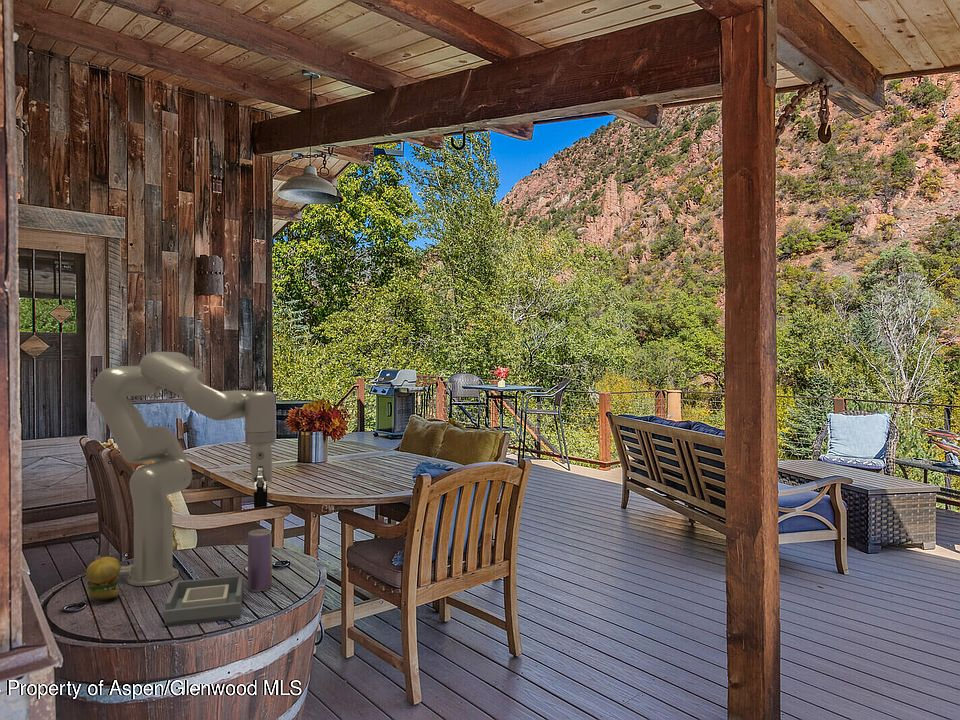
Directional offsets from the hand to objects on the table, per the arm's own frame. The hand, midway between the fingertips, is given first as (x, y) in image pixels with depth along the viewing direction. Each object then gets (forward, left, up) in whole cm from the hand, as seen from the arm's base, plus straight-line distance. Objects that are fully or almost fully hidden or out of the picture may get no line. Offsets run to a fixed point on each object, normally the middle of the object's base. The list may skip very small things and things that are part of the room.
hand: (260, 503), depth 168 cm
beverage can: (0, 0, -23) cm, 23 cm away
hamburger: (-37, +3, -23) cm, 44 cm away
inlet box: (-12, -11, -23) cm, 28 cm away
